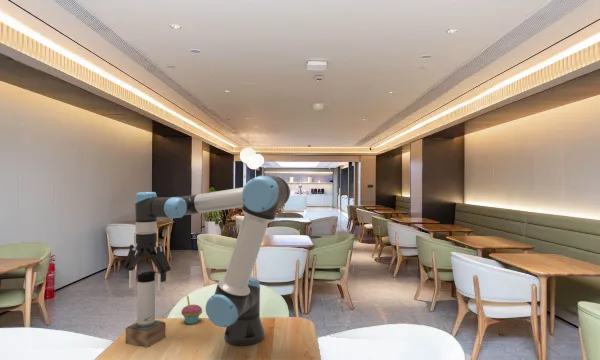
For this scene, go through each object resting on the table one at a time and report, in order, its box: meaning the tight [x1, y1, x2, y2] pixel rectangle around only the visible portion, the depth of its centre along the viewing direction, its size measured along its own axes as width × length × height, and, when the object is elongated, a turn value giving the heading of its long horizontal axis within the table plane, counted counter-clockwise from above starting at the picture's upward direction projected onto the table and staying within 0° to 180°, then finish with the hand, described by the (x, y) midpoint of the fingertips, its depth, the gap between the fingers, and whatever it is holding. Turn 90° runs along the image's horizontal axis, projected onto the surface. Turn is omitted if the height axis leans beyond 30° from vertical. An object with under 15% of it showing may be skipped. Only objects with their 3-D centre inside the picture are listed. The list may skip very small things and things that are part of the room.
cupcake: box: [181, 294, 203, 325], centre depth 166 cm, size 9×8×12 cm
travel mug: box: [136, 270, 156, 327], centre depth 147 cm, size 6×7×20 cm
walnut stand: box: [125, 319, 167, 348], centre depth 147 cm, size 10×10×6 cm
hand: (146, 288), depth 147 cm, fingers open, 13 cm apart
